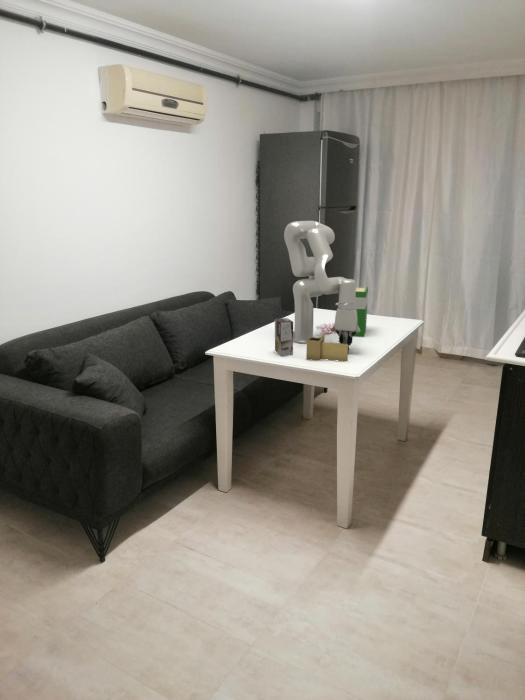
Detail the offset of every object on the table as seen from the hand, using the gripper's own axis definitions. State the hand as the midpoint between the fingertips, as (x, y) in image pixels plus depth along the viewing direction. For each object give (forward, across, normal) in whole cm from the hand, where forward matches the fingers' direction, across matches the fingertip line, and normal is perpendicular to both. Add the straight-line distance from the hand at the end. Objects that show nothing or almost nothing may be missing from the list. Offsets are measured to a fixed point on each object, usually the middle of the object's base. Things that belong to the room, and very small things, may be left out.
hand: (345, 344), depth 259 cm
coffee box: (+4, -27, -11) cm, 29 cm away
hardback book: (+5, -2, +41) cm, 41 cm away
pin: (+4, 0, 0) cm, 4 cm away
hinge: (+4, -5, -8) cm, 10 cm away
